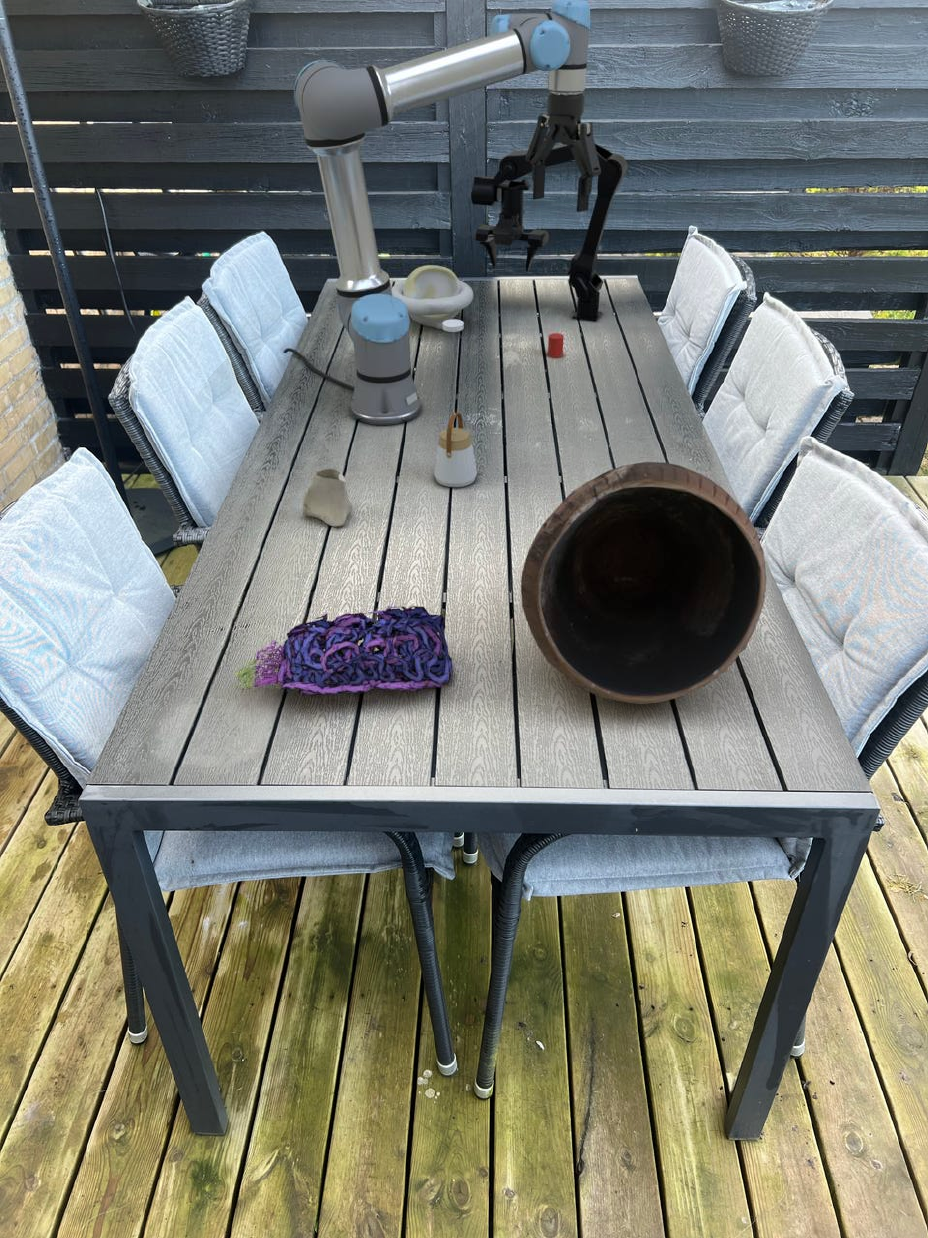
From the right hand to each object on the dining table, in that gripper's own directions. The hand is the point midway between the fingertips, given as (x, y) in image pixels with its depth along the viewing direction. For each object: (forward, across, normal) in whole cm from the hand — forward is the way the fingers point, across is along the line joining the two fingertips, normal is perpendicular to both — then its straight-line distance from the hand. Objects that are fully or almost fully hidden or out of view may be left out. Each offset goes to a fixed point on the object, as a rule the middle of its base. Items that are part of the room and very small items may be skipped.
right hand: (510, 269), depth 247 cm
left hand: (-26, +23, -34) cm, 48 cm away
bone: (+10, +6, -115) cm, 116 cm away
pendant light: (+10, +22, -93) cm, 96 cm away
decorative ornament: (+10, +30, -154) cm, 158 cm away
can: (+10, +21, -28) cm, 36 cm away
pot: (+10, +65, -131) cm, 147 cm away
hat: (+10, -15, -19) cm, 26 cm away
